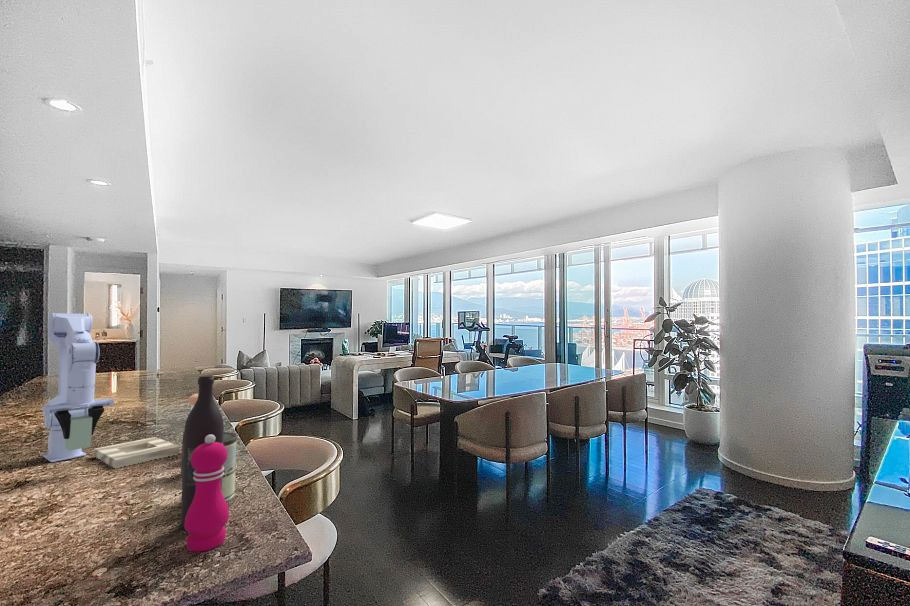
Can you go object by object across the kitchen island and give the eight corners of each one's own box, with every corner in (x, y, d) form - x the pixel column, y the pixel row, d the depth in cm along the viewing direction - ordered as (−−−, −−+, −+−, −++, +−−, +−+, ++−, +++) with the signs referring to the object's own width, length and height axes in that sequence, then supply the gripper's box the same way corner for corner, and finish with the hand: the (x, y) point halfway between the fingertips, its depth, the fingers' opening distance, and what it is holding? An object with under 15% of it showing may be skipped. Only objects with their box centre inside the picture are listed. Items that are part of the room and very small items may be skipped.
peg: (64, 447, 112) (66, 418, 113) (85, 444, 116) (87, 415, 116) (69, 450, 110) (71, 420, 110) (90, 446, 113) (92, 417, 114)
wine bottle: (178, 535, 80) (184, 379, 81) (182, 519, 86) (188, 375, 88) (219, 526, 83) (224, 377, 85) (221, 512, 89) (226, 373, 91)
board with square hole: (94, 456, 126) (94, 448, 126) (155, 444, 139) (155, 436, 139) (115, 469, 115) (115, 459, 116) (178, 454, 129) (179, 446, 129)
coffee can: (179, 511, 90) (182, 445, 91) (189, 493, 99) (191, 434, 100) (233, 503, 94) (235, 440, 95) (237, 487, 103) (239, 430, 104)
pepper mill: (196, 533, 80) (200, 429, 81) (235, 532, 81) (238, 429, 82) (174, 554, 73) (179, 440, 74) (217, 552, 74) (220, 439, 75)
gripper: (48, 391, 105) (45, 445, 105) (118, 384, 117) (116, 432, 117) (41, 388, 109) (38, 440, 109) (110, 382, 121) (107, 429, 121)
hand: (78, 436), depth 113 cm, fingers closed on peg, 4 cm apart
